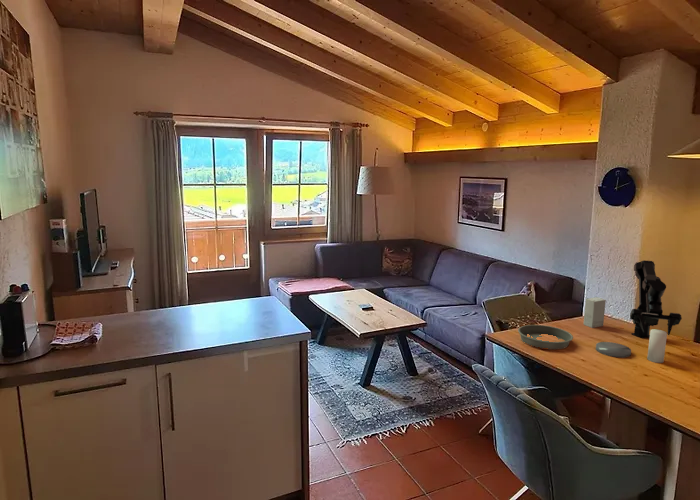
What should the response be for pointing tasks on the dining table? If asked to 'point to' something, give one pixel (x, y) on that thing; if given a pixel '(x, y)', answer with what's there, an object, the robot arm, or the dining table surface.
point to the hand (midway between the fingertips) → (656, 333)
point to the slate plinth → (613, 349)
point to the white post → (657, 346)
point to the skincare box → (594, 312)
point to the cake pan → (542, 329)
